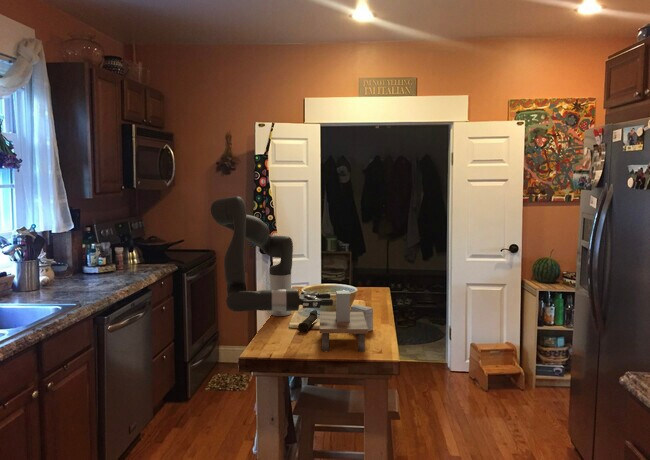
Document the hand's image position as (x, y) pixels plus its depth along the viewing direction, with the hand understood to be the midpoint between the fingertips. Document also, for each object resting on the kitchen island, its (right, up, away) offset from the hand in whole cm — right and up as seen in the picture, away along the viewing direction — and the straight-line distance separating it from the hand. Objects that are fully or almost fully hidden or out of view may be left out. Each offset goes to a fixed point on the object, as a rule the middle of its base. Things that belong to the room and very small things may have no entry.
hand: (331, 299), depth 183 cm
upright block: (+4, -7, +1) cm, 9 cm away
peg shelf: (+4, -15, +2) cm, 16 cm away
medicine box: (+12, -14, +18) cm, 26 cm away
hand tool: (-9, -14, +22) cm, 27 cm away
